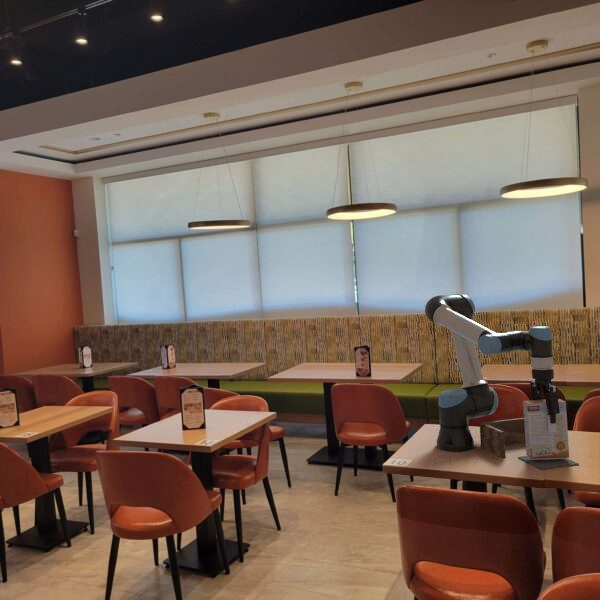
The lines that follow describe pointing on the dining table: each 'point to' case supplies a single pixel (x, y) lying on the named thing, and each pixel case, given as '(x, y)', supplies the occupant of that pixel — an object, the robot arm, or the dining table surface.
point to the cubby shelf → (501, 435)
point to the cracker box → (545, 431)
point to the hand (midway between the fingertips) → (545, 429)
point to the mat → (548, 462)
